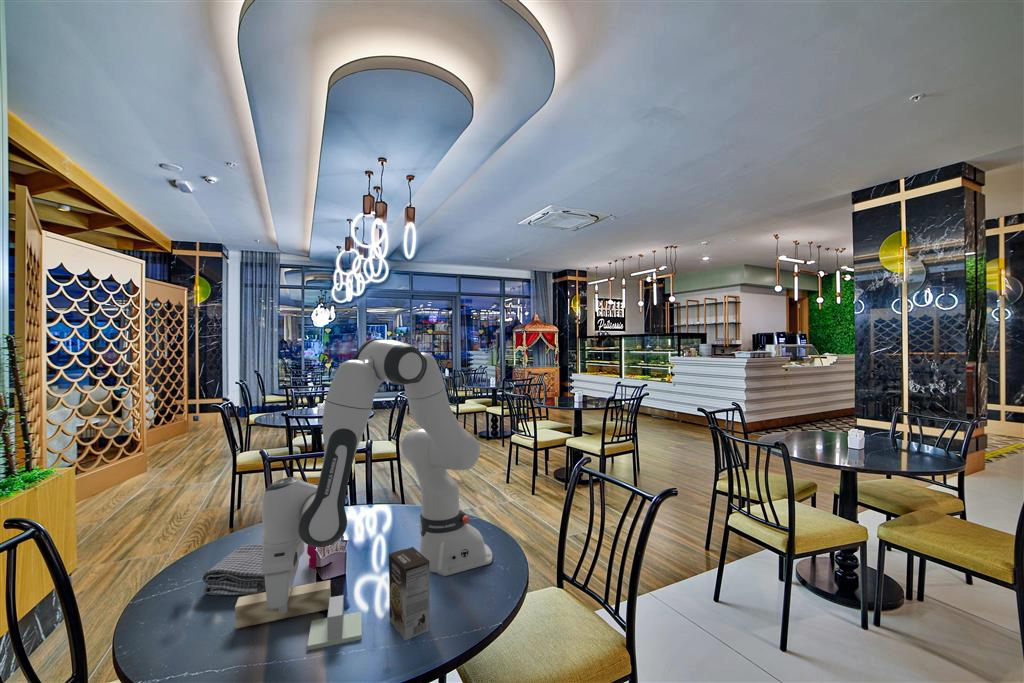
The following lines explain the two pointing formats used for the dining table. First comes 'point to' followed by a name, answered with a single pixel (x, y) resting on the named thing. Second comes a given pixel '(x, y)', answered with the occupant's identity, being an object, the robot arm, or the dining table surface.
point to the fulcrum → (335, 626)
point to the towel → (237, 573)
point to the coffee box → (409, 592)
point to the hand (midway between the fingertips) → (285, 605)
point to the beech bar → (299, 603)
